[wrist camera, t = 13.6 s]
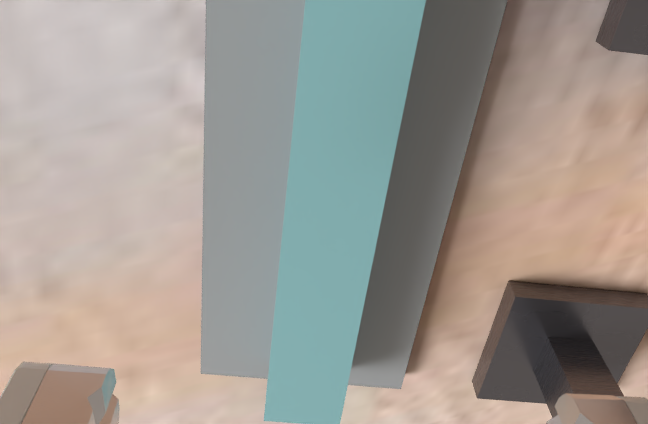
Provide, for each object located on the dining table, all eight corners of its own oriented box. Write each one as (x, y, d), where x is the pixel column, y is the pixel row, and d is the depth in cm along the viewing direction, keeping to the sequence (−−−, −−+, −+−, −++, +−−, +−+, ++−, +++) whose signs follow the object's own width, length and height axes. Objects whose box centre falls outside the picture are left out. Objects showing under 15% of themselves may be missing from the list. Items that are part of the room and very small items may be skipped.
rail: (323, -184, 15) (324, -191, 13) (437, -168, 15) (460, -171, 13) (269, 363, 26) (264, 420, 23) (337, 369, 26) (339, 425, 23)
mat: (214, -248, 15) (209, -253, 14) (551, -197, 16) (562, -199, 15) (203, 360, 27) (200, 373, 26) (398, 375, 27) (400, 388, 27)
